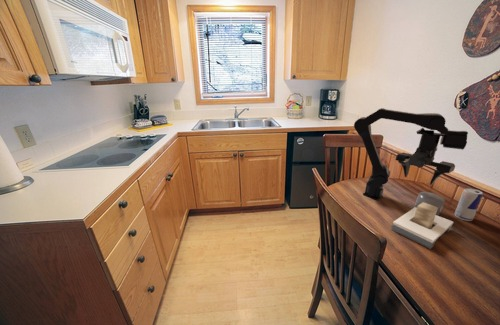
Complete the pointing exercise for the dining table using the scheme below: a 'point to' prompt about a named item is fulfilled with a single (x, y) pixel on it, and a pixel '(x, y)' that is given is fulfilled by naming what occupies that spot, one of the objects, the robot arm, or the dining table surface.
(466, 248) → the dining table surface
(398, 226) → the hole board
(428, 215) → the wood peg
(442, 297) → the dining table surface
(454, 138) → the robot arm
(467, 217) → the energy drink
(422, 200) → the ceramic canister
